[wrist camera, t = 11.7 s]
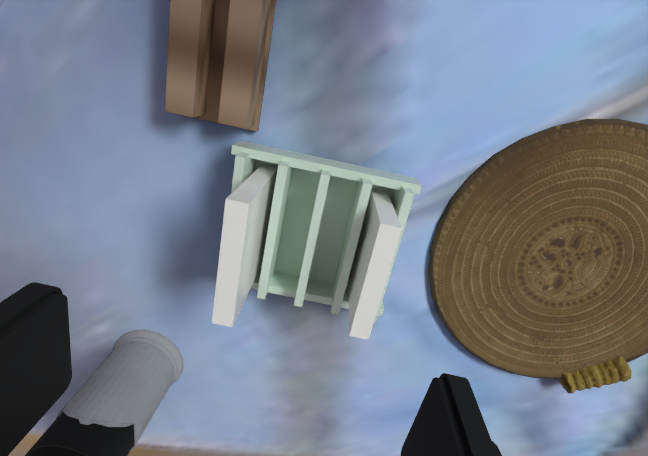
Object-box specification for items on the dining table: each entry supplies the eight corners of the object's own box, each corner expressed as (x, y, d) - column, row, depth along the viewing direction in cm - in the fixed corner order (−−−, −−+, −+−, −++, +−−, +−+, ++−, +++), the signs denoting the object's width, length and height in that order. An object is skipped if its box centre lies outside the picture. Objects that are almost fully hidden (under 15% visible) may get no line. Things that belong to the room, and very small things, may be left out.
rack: (243, 139, 37) (204, 159, 26) (414, 175, 37) (441, 210, 27) (227, 264, 41) (189, 323, 31) (378, 295, 42) (389, 363, 32)
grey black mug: (188, 341, 45) (118, 455, 31) (171, 424, 50) (105, 555, 36) (116, 321, 45) (13, 428, 31) (107, 408, 50) (14, 533, 36)
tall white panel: (262, 164, 36) (225, 199, 25) (278, 167, 36) (249, 204, 25) (249, 256, 40) (211, 322, 29) (264, 259, 40) (232, 327, 29)
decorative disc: (707, 56, 31) (771, 341, 38) (674, 60, 34) (739, 323, 41) (385, 208, 37) (494, 430, 44) (383, 199, 40) (485, 408, 47)
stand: (189, -32, 32) (168, -48, 28) (277, -12, 32) (269, -25, 28) (180, 113, 36) (161, 116, 32) (258, 130, 36) (248, 135, 32)
